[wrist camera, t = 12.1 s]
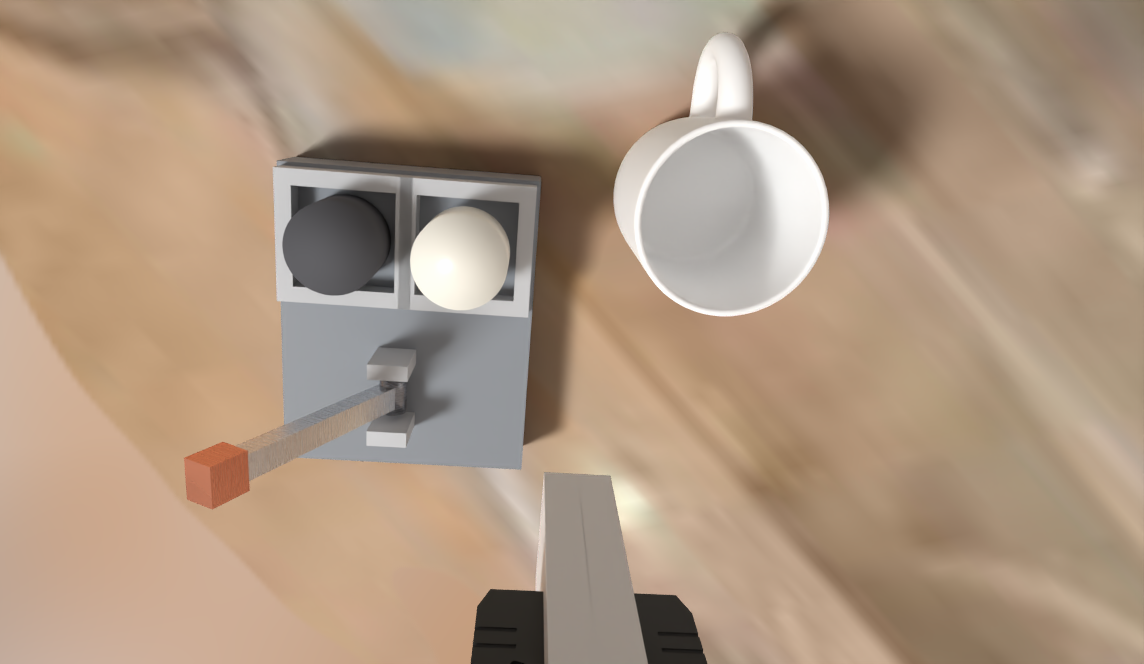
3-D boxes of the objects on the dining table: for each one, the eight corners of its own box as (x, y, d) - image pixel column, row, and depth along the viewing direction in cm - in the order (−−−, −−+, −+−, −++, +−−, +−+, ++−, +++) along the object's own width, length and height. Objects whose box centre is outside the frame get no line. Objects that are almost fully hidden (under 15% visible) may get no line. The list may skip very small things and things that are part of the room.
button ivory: (420, 203, 36) (411, 211, 33) (512, 209, 37) (510, 218, 34) (418, 291, 38) (409, 307, 35) (507, 297, 38) (505, 313, 35)
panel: (295, 156, 40) (256, 164, 34) (540, 176, 41) (541, 187, 35) (301, 434, 44) (267, 481, 39) (522, 446, 45) (520, 493, 40)
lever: (391, 370, 40) (184, 456, 29) (412, 376, 40) (209, 466, 29) (390, 403, 41) (186, 500, 30) (411, 409, 40) (212, 510, 29)
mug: (624, 35, 39) (653, 11, 29) (781, 48, 40) (862, 28, 30) (605, 263, 42) (626, 311, 33) (749, 272, 43) (813, 322, 33)
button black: (300, 190, 37) (281, 197, 34) (391, 197, 37) (379, 205, 34) (302, 278, 38) (283, 292, 35) (390, 284, 39) (378, 298, 36)
